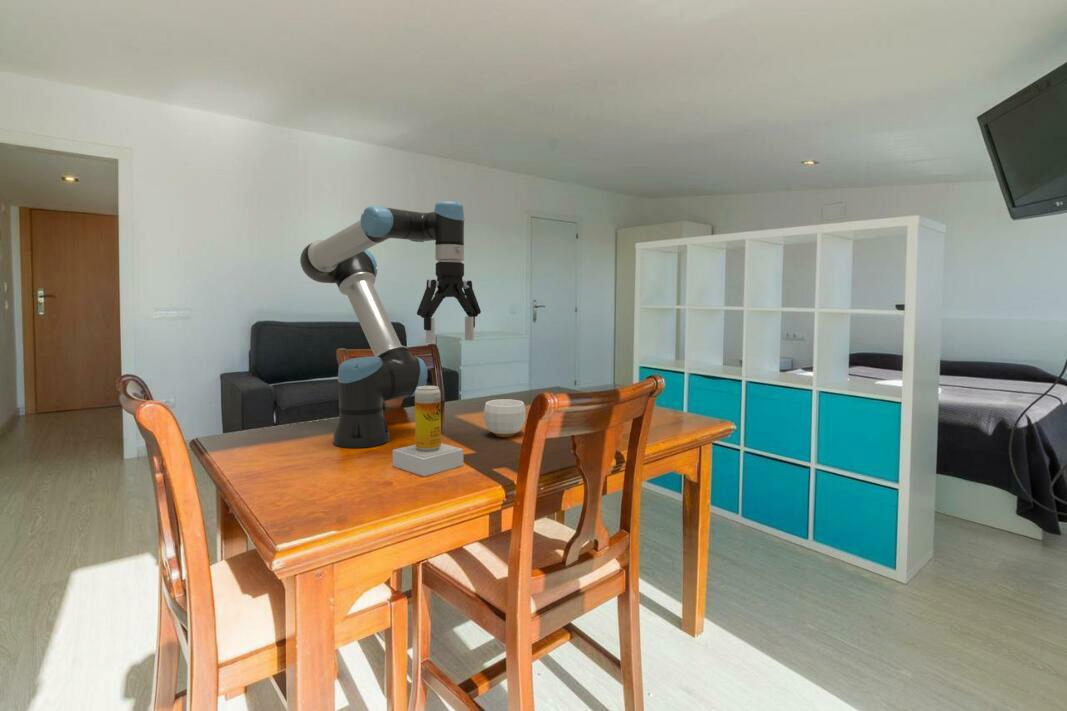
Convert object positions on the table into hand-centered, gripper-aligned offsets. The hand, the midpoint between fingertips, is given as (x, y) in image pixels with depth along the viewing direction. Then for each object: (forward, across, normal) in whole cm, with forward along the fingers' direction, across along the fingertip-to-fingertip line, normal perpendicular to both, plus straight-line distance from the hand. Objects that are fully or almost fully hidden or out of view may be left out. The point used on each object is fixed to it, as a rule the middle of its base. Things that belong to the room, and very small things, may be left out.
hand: (450, 341), depth 157 cm
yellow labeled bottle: (+25, -16, -10) cm, 31 cm away
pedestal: (+29, -16, -10) cm, 34 cm away
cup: (+29, +19, -2) cm, 35 cm away
